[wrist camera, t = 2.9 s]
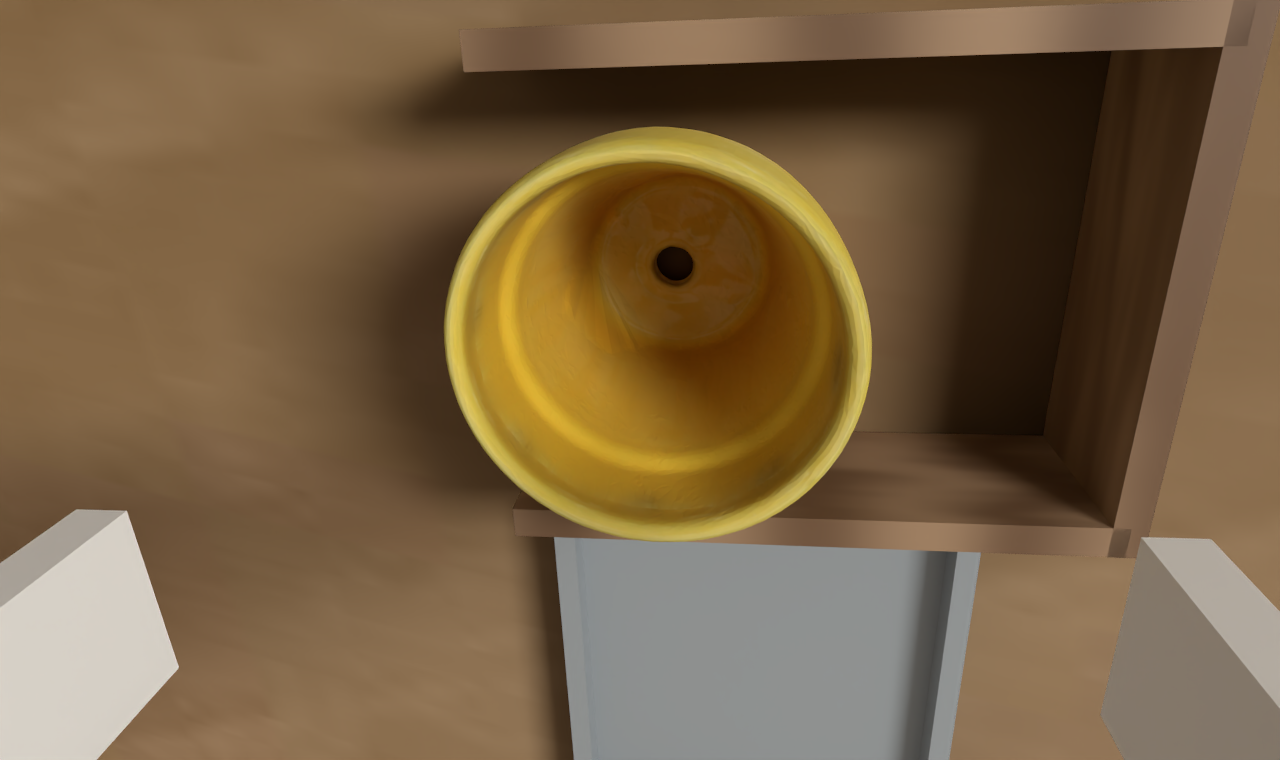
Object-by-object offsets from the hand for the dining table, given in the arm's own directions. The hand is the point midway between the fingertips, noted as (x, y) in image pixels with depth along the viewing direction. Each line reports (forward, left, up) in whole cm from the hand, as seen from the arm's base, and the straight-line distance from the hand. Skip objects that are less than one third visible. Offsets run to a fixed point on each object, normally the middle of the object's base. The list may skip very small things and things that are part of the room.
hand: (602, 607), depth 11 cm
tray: (+3, -17, -19) cm, 26 cm away
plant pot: (0, 0, -19) cm, 19 cm away
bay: (+4, 0, -19) cm, 19 cm away
